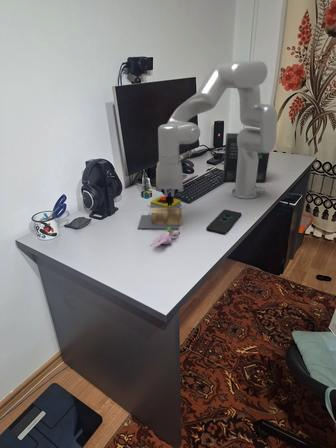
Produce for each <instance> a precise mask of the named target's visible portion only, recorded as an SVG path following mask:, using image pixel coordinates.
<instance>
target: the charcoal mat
mask: <svg viewBox="0 0 336 448" xmlns="http://www.w3.org/2000/svg"><path fill="white" fill-rule="evenodd" d="M179 226H180V225H175V224H152V221H151V214H141V216H140V220H139V222H138V226H137V230H147V231H148V230H149V231H151V230H152V231H154V230H155V231H159V230H161V231H162V230H164V231H167V229H168V227H170V229H171V230H175V231H179Z"/></svg>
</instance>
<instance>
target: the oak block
mask: <svg viewBox="0 0 336 448" xmlns="http://www.w3.org/2000/svg"><path fill="white" fill-rule="evenodd" d="M150 215H151V221H152V224H175V225H179V226H180V225H182V224H183V223H182V222H183V209H182V208H151V213H150Z"/></svg>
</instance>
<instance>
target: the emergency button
mask: <svg viewBox="0 0 336 448" xmlns="http://www.w3.org/2000/svg"><path fill="white" fill-rule="evenodd" d="M181 201H182V200H181V199H177V198H174V203H172V206H168V203H166V196H165V195H160V196H157V197H155V198H154V199H152V200H151V201H150V204H148V205H147V207H148V208H151V209H152V208H182V210H183V209H184V208H185V207H186V206H185V205H182V204H181V203H182V202H181Z"/></svg>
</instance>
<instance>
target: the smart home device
mask: <svg viewBox="0 0 336 448" xmlns="http://www.w3.org/2000/svg"><path fill="white" fill-rule="evenodd" d="M241 217H242V212H240V211H235V210H230V209H223V210H222V211H221V212H220V213H219V214H218V215H217V216H216V217H215V218H214V219H213V220H212V221H211V222H210V223H209V224H208V225H207V226H206V227H205V228H206V229H205V230H206V232H209V233H214V234H218V235H222V236H226V234H228V232H229V231H230V230H231V229H232V228H233V226H234V225H236V223H237V222H238V220H239V219H240V218H241Z"/></svg>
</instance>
